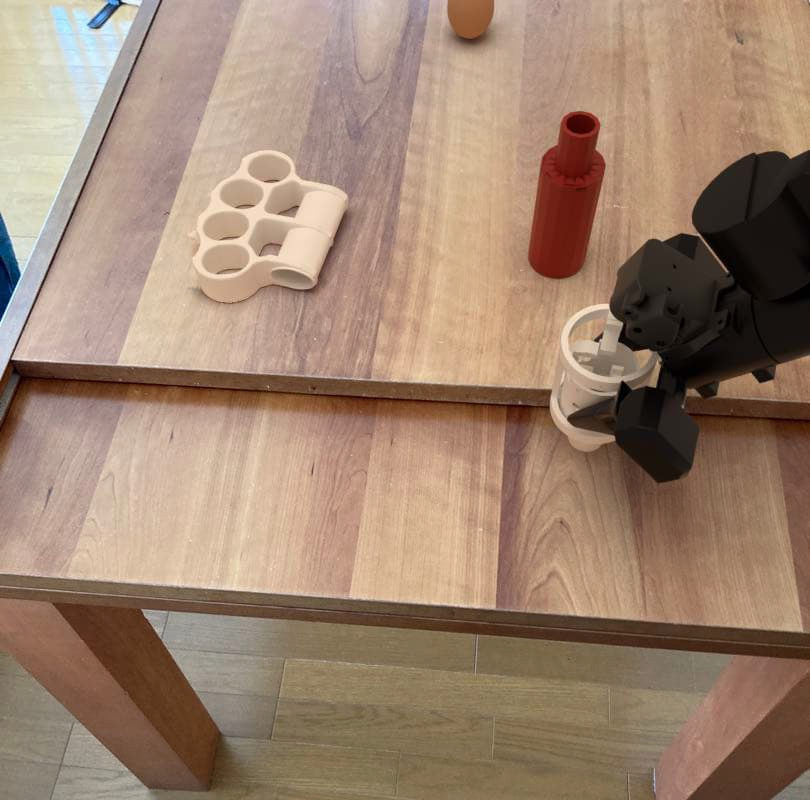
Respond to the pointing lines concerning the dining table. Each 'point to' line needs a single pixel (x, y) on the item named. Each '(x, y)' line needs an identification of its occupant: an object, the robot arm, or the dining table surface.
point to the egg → (470, 16)
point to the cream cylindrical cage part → (593, 374)
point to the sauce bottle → (567, 198)
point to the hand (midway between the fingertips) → (579, 385)
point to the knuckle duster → (265, 229)
